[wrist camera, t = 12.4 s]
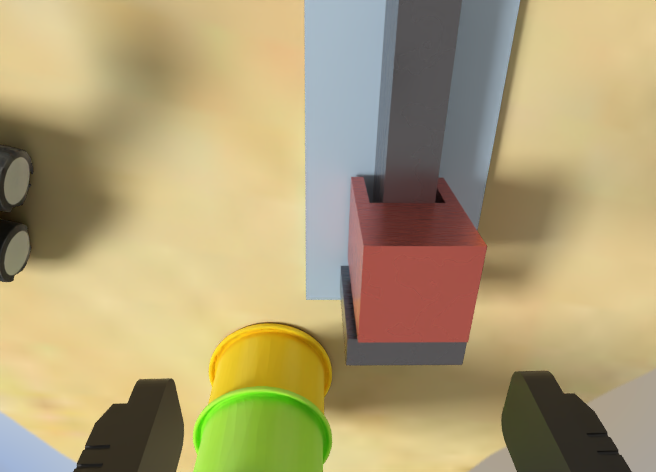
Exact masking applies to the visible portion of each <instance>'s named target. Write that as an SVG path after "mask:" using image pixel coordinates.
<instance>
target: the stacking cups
mask: <svg viewBox="0 0 656 472" xmlns="http://www.w3.org/2000/svg"><path fill="white" fill-rule="evenodd" d="M209 378H210V382H211V385H212V391H211V395H210V399H209V403H208V405H207V406H206V407H205V408H204V410H203V411H202V412H201V414H200V415H199V417H198V419H197V421H196V423H195V426H194V431H193V442H194V447H195V450H196V453H197V459H196V463H195V467H194V471H193V472H323V464H324V463H325V461H326V460H327V458H328V456H329V453H330V450H331V447H332V434H331V429H330V425H329V423H328V421H327V419H326V417H325V416H324V397H325V396H326V394H327V392H328V390H329V388H330V385H331V381H332V367H331V363H330V360H329V357H328V355H327V353H326V351H325V350H324V348H323V347H322V346H321V345H320V344H319V343H318V342H317V341H316V340H315V339H314V338H313V337H311V336H310V335H308V334H307V333H305V332H303V331H301V330H299V329H296V328H294V327H290V326H287V325H282V324H268V323H265V324H256V325H252V326H248V327H244V328H242V329H240V330H237V331H236V332H234V333H232V334H230V335H229V336H227V337H226V338H225V339H224V340H223V341H222V342H221V343H220V344H219V345H218V346H217V348H216V349H215V351H214V353H213V355H212V357H211V360H210V365H209Z"/></svg>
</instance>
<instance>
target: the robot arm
mask: <svg viewBox="0 0 656 472" xmlns="http://www.w3.org/2000/svg"><path fill="white" fill-rule="evenodd" d="M501 422H502V432H503V436H504V440H505V443H506V445H507V448H508V450H509V453H510V455H511V458H512V460H513V463H514V465H515V468H516V470H517V472H631V470H630V468H629V467H628V465H627V464H626V462H625V460H624V459H623V457H622V455H619V453H618V449H617V447H616V446H615V444H614V442H613V441H612V439H611V438H610V437H608V435H607V431H606V429H605V428H604V426H603V425H602V423H601V422H600V420H599V418H598V417H597V415H596V413H595V412H594V411H593V410H592V409H591V408H590V407H589V406H588V405H587V404H585V403H584V402H583V401H582V400H581V399H580V398H579V397H578V396H577V395H575V394H564V393H563V392H562V390H561V388H560V386H559V385H558V383H557V381H556V380H555V378H554V376H553V375H552V374H551V373H550V372H549V371H518V372H514V374H513V375H512V378H511V382H510V386H509V390H508V393H507V397H506V401H505V404H504V408H503V412H502V419H501ZM183 438H184V423H183V417H182V413H181V409H180V404H179V400H178V395H177V391H176V386H175V382H174V380H173V379H140V380H138V381H137V382H136V384H135V386H134V389H133V391H132V394H131V396H130V398H129V401H128V403H127V404H113V405H112V406H111V407H110V408H109V409H108V410H107V411H106V412H105V413H104V414H103V416H102V417H101V418H100V419H99V420H98V421H97V422H96V423H95V425H94V427H93V430H92V432H91V434H90V436H89V438H88V440H87V443H86V445H85V450H83V451H82V454H81V456H80V458H79V460H78V462H77V468H76V469H74V471H73V472H176V470H177V466H178V462H179V458H180V454H181V450H182V446H183Z"/></svg>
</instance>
